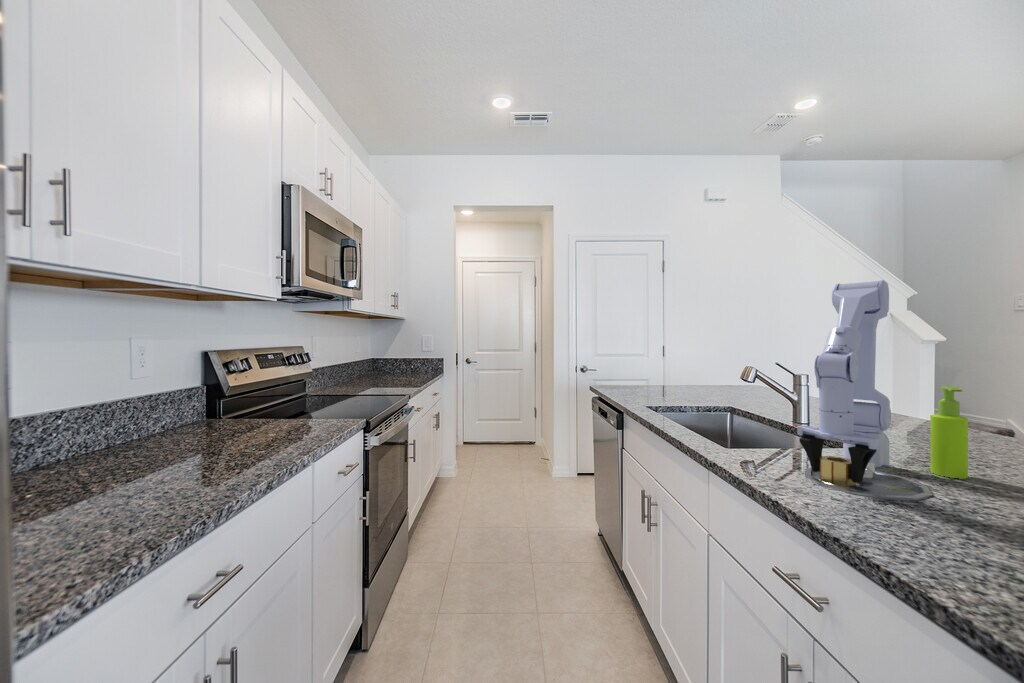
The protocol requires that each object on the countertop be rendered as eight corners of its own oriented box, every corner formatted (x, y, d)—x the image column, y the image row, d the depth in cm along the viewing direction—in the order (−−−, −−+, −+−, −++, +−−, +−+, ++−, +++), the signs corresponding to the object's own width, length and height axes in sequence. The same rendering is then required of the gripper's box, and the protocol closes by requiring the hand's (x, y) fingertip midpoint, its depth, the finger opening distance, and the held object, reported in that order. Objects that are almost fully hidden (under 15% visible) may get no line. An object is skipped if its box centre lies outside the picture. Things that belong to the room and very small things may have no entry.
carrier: (838, 467, 102) (838, 450, 102) (951, 495, 84) (951, 474, 84) (784, 479, 94) (784, 461, 94) (897, 512, 75) (897, 490, 75)
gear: (813, 478, 91) (813, 457, 91) (833, 475, 93) (833, 455, 93) (840, 487, 86) (840, 464, 86) (862, 484, 87) (862, 462, 87)
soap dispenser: (938, 478, 94) (938, 387, 94) (926, 469, 100) (926, 384, 100) (975, 482, 91) (975, 388, 91) (960, 473, 98) (960, 385, 98)
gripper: (788, 407, 94) (788, 469, 94) (865, 418, 81) (866, 489, 81) (808, 405, 97) (808, 465, 97) (886, 415, 84) (886, 484, 84)
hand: (836, 476), depth 89 cm, fingers open, 7 cm apart
